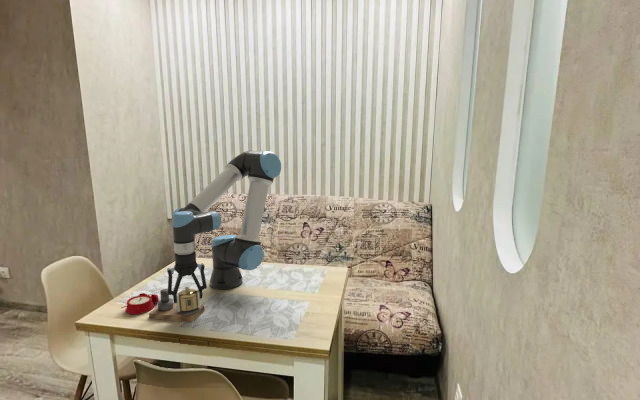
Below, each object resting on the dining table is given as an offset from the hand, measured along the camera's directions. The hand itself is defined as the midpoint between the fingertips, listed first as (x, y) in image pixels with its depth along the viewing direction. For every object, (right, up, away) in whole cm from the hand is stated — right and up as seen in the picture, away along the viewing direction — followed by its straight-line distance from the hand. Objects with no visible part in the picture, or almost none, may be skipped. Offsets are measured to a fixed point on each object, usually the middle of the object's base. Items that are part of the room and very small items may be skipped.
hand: (188, 308), depth 145 cm
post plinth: (-5, -3, +1) cm, 6 cm away
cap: (0, 0, 0) cm, 0 cm away
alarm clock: (-22, -2, +8) cm, 23 cm away
